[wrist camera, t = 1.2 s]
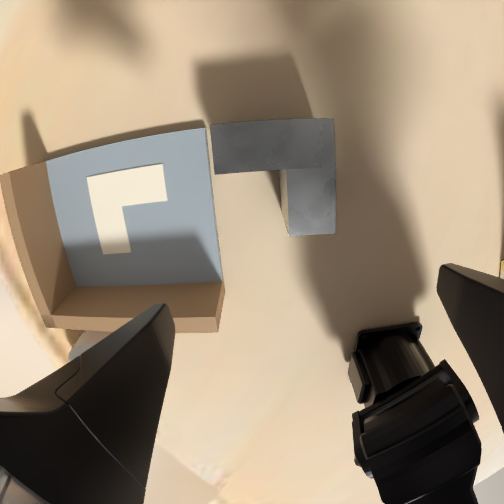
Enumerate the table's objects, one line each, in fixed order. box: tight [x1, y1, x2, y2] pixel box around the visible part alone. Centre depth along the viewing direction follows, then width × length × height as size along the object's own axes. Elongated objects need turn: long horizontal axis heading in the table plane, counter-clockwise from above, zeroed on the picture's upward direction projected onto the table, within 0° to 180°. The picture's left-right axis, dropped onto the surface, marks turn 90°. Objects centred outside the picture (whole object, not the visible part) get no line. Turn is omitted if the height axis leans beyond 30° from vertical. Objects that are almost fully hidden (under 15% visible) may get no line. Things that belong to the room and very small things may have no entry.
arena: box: [0, 128, 225, 333], centre depth 18 cm, size 14×12×5 cm
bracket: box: [210, 119, 336, 236], centre depth 17 cm, size 6×6×5 cm
